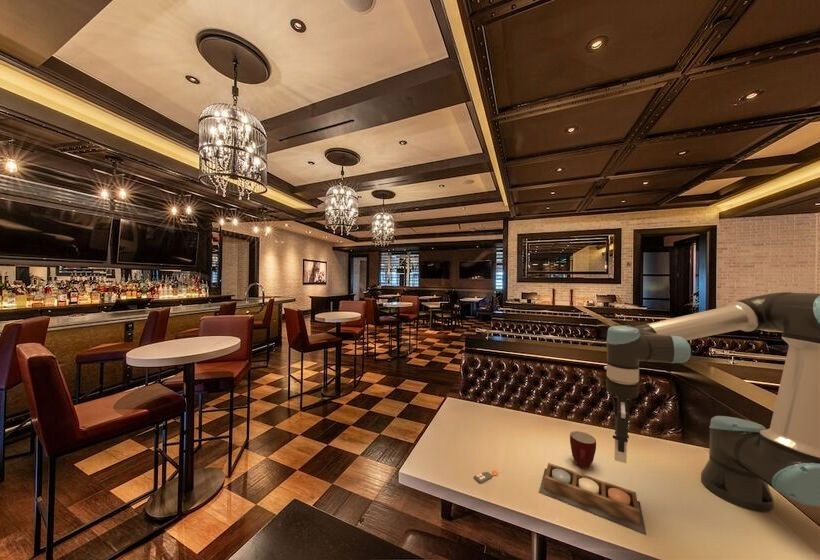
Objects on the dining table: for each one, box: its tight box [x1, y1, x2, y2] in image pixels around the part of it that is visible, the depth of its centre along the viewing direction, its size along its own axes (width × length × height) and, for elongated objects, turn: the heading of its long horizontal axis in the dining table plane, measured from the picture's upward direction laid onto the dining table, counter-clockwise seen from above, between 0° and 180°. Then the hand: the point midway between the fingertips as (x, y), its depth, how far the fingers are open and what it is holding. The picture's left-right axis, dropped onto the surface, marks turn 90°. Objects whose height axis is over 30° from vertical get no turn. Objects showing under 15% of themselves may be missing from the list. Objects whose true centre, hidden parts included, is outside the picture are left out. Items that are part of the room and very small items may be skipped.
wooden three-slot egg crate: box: [538, 462, 647, 536], centre depth 87 cm, size 26×13×4 cm, turn 57°
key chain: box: [473, 470, 502, 485], centre depth 96 cm, size 13×4×2 cm, turn 119°
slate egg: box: [552, 469, 570, 484], centre depth 91 cm, size 5×5×3 cm
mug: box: [569, 430, 597, 469], centre depth 101 cm, size 11×8×10 cm
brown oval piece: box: [608, 488, 630, 506], centre depth 83 cm, size 5×5×3 cm
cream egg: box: [579, 478, 599, 495], centre depth 87 cm, size 5×5×3 cm
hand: (620, 460), depth 83 cm, fingers closed
